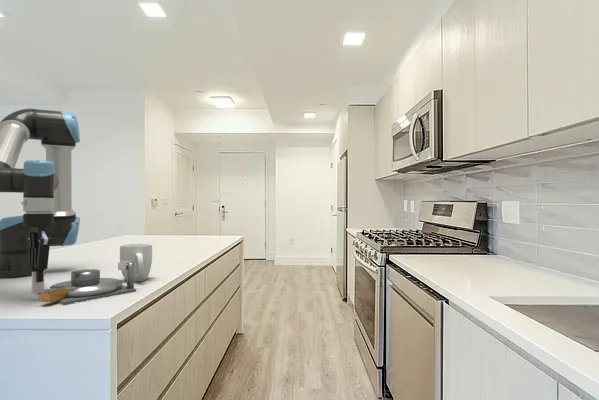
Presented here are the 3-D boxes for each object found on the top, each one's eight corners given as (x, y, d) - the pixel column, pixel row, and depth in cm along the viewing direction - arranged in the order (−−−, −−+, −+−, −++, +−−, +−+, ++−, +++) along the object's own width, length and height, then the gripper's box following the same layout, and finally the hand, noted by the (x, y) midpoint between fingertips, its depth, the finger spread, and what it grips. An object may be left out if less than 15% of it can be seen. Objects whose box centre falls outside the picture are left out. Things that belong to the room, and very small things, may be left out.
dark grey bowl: (64, 286, 116) (64, 273, 116) (83, 280, 124) (83, 268, 124) (88, 287, 115) (88, 274, 115) (105, 281, 123) (105, 269, 123)
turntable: (14, 300, 105) (14, 291, 105) (82, 281, 131) (82, 274, 131) (77, 304, 102) (77, 295, 102) (134, 283, 127) (134, 276, 127)
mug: (157, 283, 133) (157, 246, 133) (123, 286, 127) (124, 248, 127) (148, 276, 146) (148, 242, 146) (117, 279, 140) (117, 244, 140)
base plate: (37, 293, 117) (37, 290, 117) (105, 282, 134) (105, 280, 134) (63, 305, 104) (63, 302, 104) (135, 291, 121) (135, 288, 121)
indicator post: (113, 290, 121) (114, 261, 121) (127, 288, 125) (128, 260, 125) (120, 293, 119) (121, 263, 119) (135, 290, 122) (135, 261, 122)
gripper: (16, 212, 112) (15, 291, 112) (31, 213, 103) (30, 299, 104) (45, 211, 117) (44, 286, 118) (61, 213, 109) (60, 293, 109)
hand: (37, 292), depth 111 cm, fingers closed
